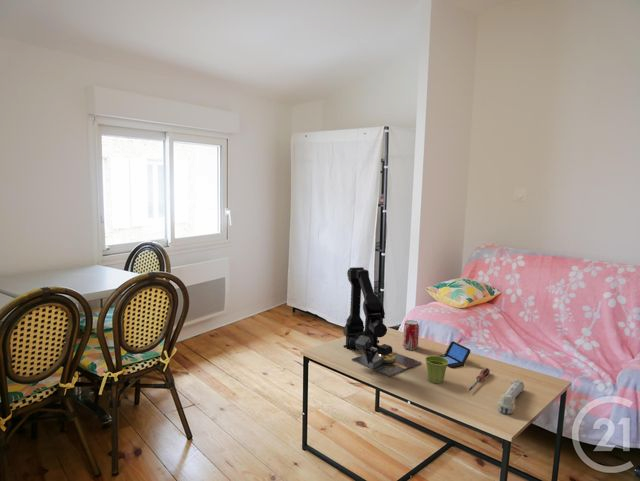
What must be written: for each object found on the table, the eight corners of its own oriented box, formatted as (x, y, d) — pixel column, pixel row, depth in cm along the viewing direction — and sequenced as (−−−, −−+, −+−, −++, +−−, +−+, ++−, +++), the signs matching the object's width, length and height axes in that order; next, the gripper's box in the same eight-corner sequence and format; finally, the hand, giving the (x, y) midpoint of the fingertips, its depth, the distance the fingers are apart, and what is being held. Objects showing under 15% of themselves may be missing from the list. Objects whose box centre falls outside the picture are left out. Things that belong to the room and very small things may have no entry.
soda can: (416, 345, 219) (418, 320, 218) (418, 351, 212) (420, 324, 210) (402, 344, 220) (403, 319, 218) (403, 350, 213) (405, 323, 211)
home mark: (392, 364, 194) (392, 363, 194) (395, 363, 195) (395, 362, 195) (404, 368, 189) (404, 368, 189) (407, 367, 190) (407, 367, 190)
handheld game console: (432, 358, 203) (433, 343, 203) (451, 355, 208) (452, 340, 207) (451, 369, 192) (452, 352, 191) (470, 365, 197) (471, 349, 196)
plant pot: (448, 377, 183) (449, 357, 182) (446, 387, 174) (448, 366, 173) (425, 374, 186) (426, 354, 185) (422, 383, 177) (423, 362, 176)
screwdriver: (472, 395, 168) (473, 387, 168) (464, 393, 170) (465, 385, 169) (490, 374, 188) (491, 367, 188) (483, 372, 190) (484, 365, 189)
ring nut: (383, 354, 203) (383, 347, 203) (398, 359, 198) (399, 351, 198) (362, 365, 190) (363, 357, 190) (378, 370, 185) (379, 362, 185)
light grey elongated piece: (526, 381, 173) (513, 396, 152) (524, 398, 173) (511, 415, 152) (512, 377, 176) (497, 392, 155) (510, 394, 176) (495, 411, 155)
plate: (351, 360, 199) (351, 358, 198) (383, 349, 213) (383, 348, 213) (389, 376, 182) (390, 375, 182) (421, 363, 197) (421, 362, 197)
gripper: (342, 327, 188) (340, 362, 190) (379, 339, 176) (376, 376, 178) (358, 322, 196) (356, 355, 198) (394, 333, 184) (391, 368, 186)
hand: (369, 364), depth 190 cm, fingers closed
